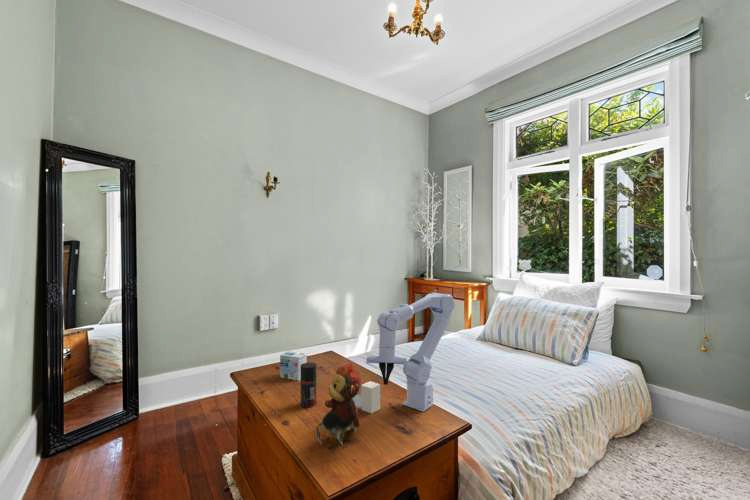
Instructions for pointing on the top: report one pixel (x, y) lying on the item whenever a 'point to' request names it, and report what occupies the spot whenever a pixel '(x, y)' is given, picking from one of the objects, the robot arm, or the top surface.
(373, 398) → the block
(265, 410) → the top surface
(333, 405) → the stuffed monkey
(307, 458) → the top surface
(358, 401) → the grey flat panel
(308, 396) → the deodorant
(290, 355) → the light bulb box
